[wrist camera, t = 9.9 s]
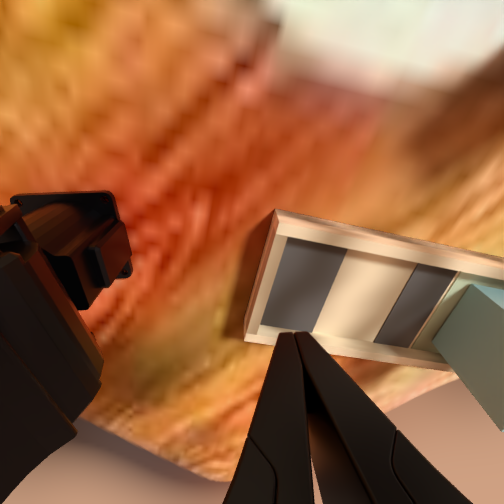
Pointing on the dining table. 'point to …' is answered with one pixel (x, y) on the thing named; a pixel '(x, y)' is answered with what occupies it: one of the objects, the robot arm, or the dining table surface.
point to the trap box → (361, 289)
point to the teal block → (478, 347)
